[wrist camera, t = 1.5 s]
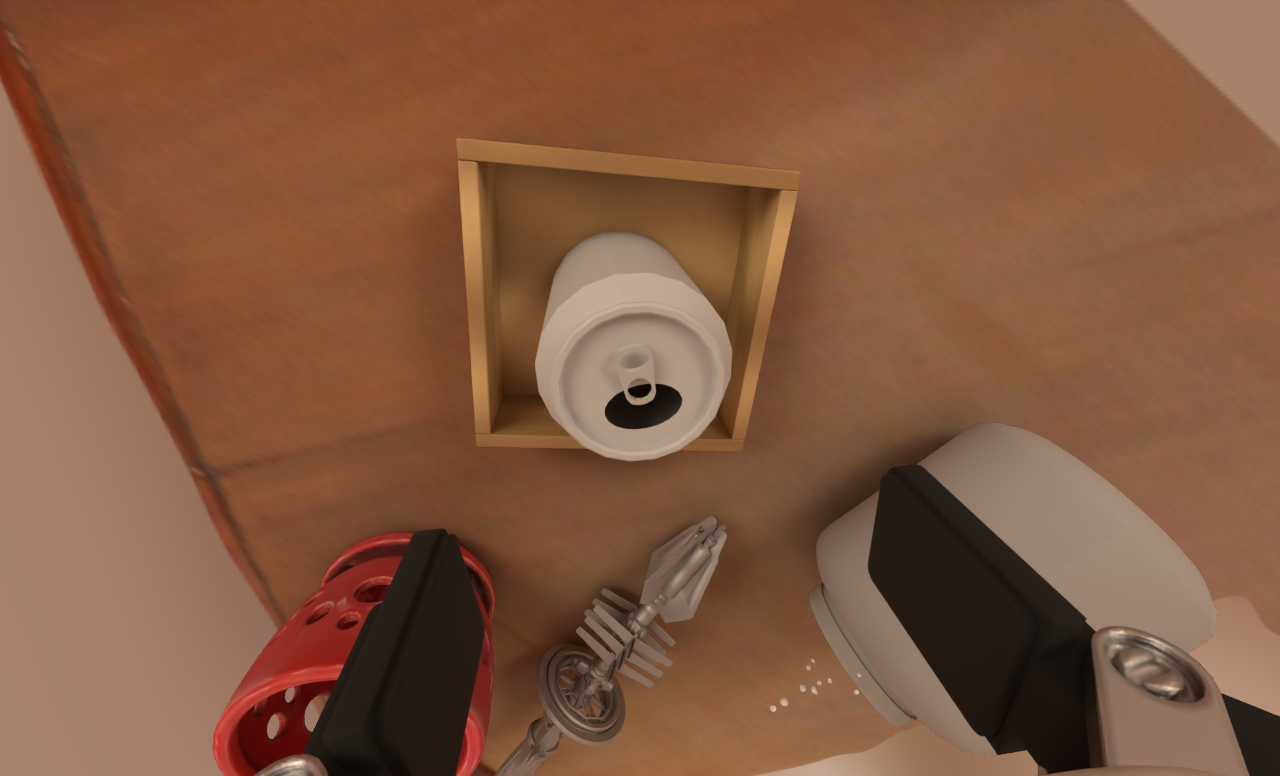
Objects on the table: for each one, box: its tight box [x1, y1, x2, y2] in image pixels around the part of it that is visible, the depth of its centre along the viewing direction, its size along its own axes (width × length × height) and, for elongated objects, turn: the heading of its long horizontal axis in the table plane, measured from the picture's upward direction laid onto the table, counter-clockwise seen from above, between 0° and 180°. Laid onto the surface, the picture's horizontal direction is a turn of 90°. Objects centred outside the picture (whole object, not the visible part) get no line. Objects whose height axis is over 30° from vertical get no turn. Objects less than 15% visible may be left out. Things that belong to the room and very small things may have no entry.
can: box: [535, 231, 732, 461], centre depth 22 cm, size 8×8×12 cm
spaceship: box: [494, 515, 727, 776], centre depth 37 cm, size 8×35×8 cm
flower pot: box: [213, 532, 495, 776], centre depth 30 cm, size 13×13×12 cm
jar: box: [770, 422, 1217, 756], centre depth 32 cm, size 19×15×25 cm
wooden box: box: [456, 138, 802, 452], centre depth 26 cm, size 15×15×5 cm
